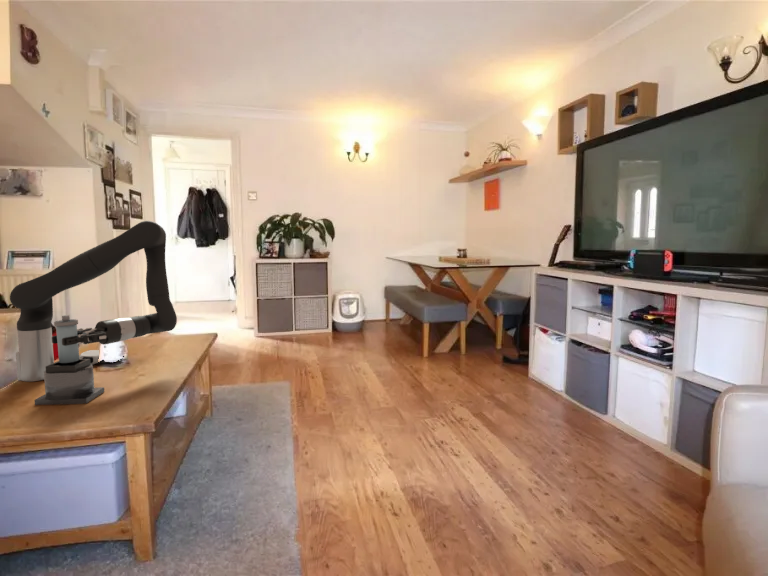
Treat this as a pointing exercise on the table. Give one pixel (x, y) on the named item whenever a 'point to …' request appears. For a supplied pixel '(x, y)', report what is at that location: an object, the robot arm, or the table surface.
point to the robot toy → (90, 356)
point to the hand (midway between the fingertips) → (57, 341)
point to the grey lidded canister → (65, 330)
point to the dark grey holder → (69, 383)
